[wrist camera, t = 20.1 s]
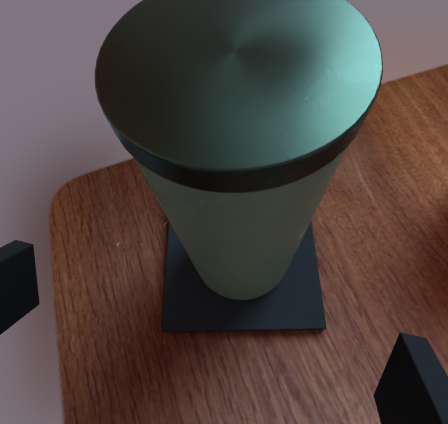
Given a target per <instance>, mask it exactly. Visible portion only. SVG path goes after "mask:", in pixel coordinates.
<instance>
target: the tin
mask: <svg viewBox="0 0 448 424" xmlns="http://www.w3.org/2000/svg"><path fill="white" fill-rule="evenodd" d="M382 62H383V61H382V53H381V48H380V44H379V41H378V39H377V36H376V34H375V32H374V30H373V28H372V27H371V25H370V24H369V22H368V21H367V19H366V18H365V17H364V16H363V15H362V14H361V13H360V11H359V10H358V9H357V8H356V7H354V6H353V5H352V4H351V3H349V2H348V1H347V0H142V1H141V2H140V3H138V4H137V5H135V6H134V7H133V8H131V9H130V10H129V11H128V12H127V13H126V14H124V15H123V17H122V18H121V19H120V20H119V21H118V22H117V23H116V24H115V25H114V26H113V28H112V29H111V31H110V32H109V33H108V35H107V36H106V38H105V40H104V42H103V44H102V46H101V48H100V51H99V54H98V57H97V61H96V67H95V89H96V93H97V97H98V101H99V103H100V106H101V108H102V110H103V112H104V115H105V116H106V118H107V120H108V122H109V123H110V125H111V127H112V128H113V130H114V132H115V134H116V135H117V137H118V139H119V140H120V142H121V143H122V144H123V146H124V147H125V149H126V150H127V151H128V152H129V153H130V154H131V155H132V156H133V157H134V159H135V161H136V163H137V164H138V166H139V168H140V170H141V172H142V173H143V175H144V177H145V179H146V181H147V182H148V184H149V186H150V188H151V190H152V191H153V193H154V195H155V197H156V199H157V200H158V202H159V204H160V206H161V208H162V209H163V211H164V213H165V215H166V217H167V218H168V220H169V222H170V224H171V225H172V227H173V229H174V231H175V233H176V234H177V236H178V238H179V240H180V242H181V243H182V245H183V247H184V249H185V251H186V252H187V254H188V256H189V258H190V260H191V261H192V263H193V265H194V267H195V269H196V270H197V272H198V274H199V276H200V277H201V279H202V280H203V282H204V283H205V284H206V285H207V286H208V287H209V288H210V289H211V290H213V291H214V292H216V293H217V294H219V295H221V296H223V297H226V298H229V299H235V300H250V299H254V298H258V297H260V296H263V295H265V294H267V293H268V292H270V291H271V290H272V289H274V288H275V287H276V286H277V285H278V284H279V282H280V281H281V280H282V278H283V277H284V275H285V273H286V271H287V269H288V267H289V265H290V263H291V261H292V259H293V257H294V255H295V252H296V250H297V248H298V246H299V244H300V242H301V240H302V238H303V236H304V234H305V232H306V230H307V228H308V226H309V224H310V222H311V220H312V217H313V215H314V213H315V211H316V209H317V207H318V205H319V203H320V201H321V199H322V197H323V195H324V193H325V191H326V189H327V187H328V185H329V182H330V180H331V178H332V176H333V174H334V172H335V170H336V168H337V166H338V164H339V162H340V160H341V158H342V156H343V154H344V152H345V150H346V148H347V147H348V145H349V144H350V143H351V142H352V141H353V139H354V138H355V137H356V135H357V133H358V132H359V130H360V128H361V127H362V125H363V123H364V121H365V119H366V117H367V115H368V113H369V111H370V109H371V107H372V105H373V103H374V101H375V99H376V97H377V94H378V91H379V88H380V86H381V80H382V73H383V63H382Z"/></svg>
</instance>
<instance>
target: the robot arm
mask: <svg viewBox="0 0 448 424" xmlns="http://www.w3.org/2000/svg"><path fill="white" fill-rule="evenodd" d="M38 305H39V296H38V287H37V276H36V267H35V257H34V247H33V244H30V243H26V242H21V241H17V240H15V241H13V242H11V243H9V244H7V245H5V246H3V247H1V248H0V334H2V333H3V332H4V331H6V330H7V329H8V328H9V327H11V326H12V325H13V324H15V323H16V322H17V321H18V320H20V319H21V318H22V317H24V316H25V315H26V314H27V313H29V312H30V311H31V310H32V309H34V308H35V307H36V306H38ZM374 399H375V402H376V406H377V410H378V413H379V417H380V421H381V424H448V376H447V374H446V372H445V371H444V369H443V367H442V365H441V364H440V362H439V360H438V358H437V356H436V355H435V353H434V351H433V349H432V348H431V346H430V344H429V342H428V340H427V339H426V338H422V337H418V336H414V335H410V334H406V333H401V332H400V334H399V336H398V338H397V341H396V343H395V345H394V348H393V350H392V353H391V355H390V357H389V360H388V362H387V364H386V367H385V369H384V372H383V374H382V376H381V379H380V381H379V383H378V386H377V388H376V391H375V393H374Z"/></svg>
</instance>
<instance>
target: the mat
mask: <svg viewBox="0 0 448 424" xmlns="http://www.w3.org/2000/svg"><path fill="white" fill-rule="evenodd" d="M321 329H326V321H325V314H324V307H323V300H322V293H321V287H320V280H319V273H318V266H317V259H316V252H315V245H314V238H313V231H312V224H311V222H310V224H309V226H308V228H307V230H306V232H305V234H304V236H303V238H302V240H301V242H300V244H299V246H298V248H297V250H296V252H295V255H294V257H293V259H292V261H291V263H290V265H289V267H288V269H287V271H286V273H285V275H284V277H283V278H282V280H281V281H280V282H279V284H278V285H277V286H276V287H275V288H274V289H272V290H271V291H270V292H268V293H267V294H265V295H263V296H260V297H258V298H254V299H250V300H235V299H229V298H226V297H223V296H221V295H219V294H217V293H216V292H214V291H213V290H211V289H210V288H209V287H208V286H207V285H206V284H205V283H204V282H203V280H202V279H201V277H200V276H199V274H198V272H197V270H196V269H195V267H194V265H193V263H192V261H191V260H190V258H189V256H188V254H187V252H186V251H185V249H184V247H183V245H182V243H181V242H180V240H179V238H178V236H177V234H176V233H175V231H174V229H173V227H172V225H171V224H170V222H169V230H168V244H167V258H166V272H165V286H164V300H163V314H162V327H161V331H162V332H196V331H258V330H321Z"/></svg>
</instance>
